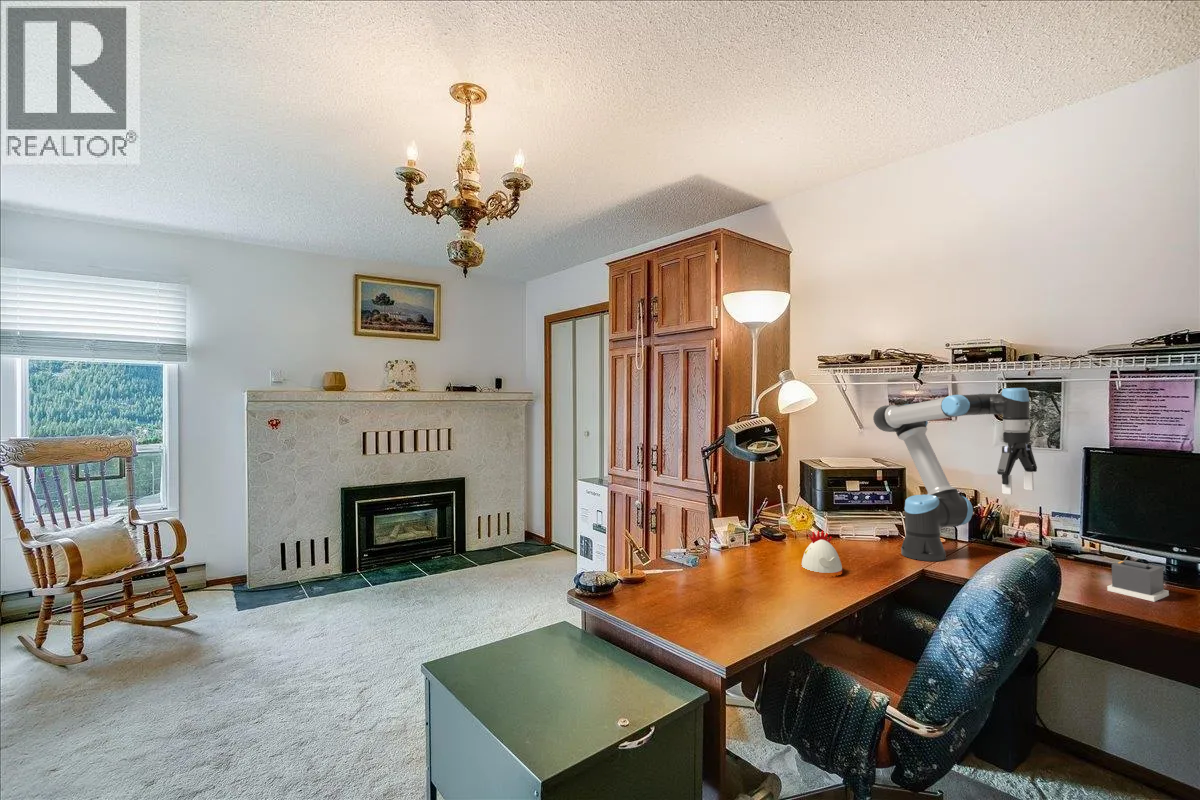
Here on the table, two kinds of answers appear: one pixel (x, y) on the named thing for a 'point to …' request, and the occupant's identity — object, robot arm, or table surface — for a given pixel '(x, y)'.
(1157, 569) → the gray slotted block
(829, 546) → the kitchen timer
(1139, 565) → the shaft stand
